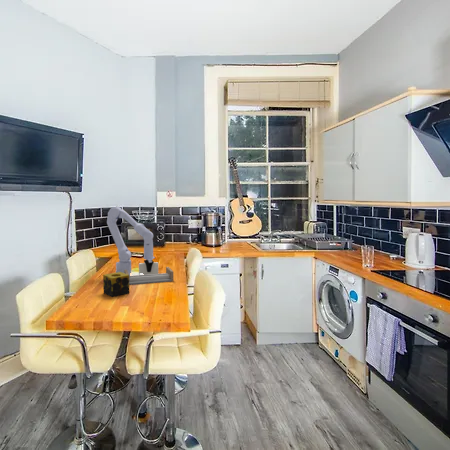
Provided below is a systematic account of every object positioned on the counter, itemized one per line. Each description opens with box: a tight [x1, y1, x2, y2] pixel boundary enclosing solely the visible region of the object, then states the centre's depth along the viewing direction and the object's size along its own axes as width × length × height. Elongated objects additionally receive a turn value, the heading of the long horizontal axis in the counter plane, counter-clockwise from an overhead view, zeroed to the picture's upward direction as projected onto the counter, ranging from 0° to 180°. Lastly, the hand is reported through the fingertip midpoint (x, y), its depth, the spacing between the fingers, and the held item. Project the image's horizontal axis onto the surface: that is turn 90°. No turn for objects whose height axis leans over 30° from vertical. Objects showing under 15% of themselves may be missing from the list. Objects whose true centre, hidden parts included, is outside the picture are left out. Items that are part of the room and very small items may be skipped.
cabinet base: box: [124, 266, 174, 286], centre depth 203 cm, size 27×14×6 cm, turn 112°
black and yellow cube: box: [102, 271, 130, 298], centre depth 176 cm, size 10×10×10 cm
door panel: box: [138, 261, 159, 275], centre depth 216 cm, size 12×2×8 cm, turn 112°
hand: (148, 271), depth 216 cm, fingers closed on door panel, 2 cm apart
